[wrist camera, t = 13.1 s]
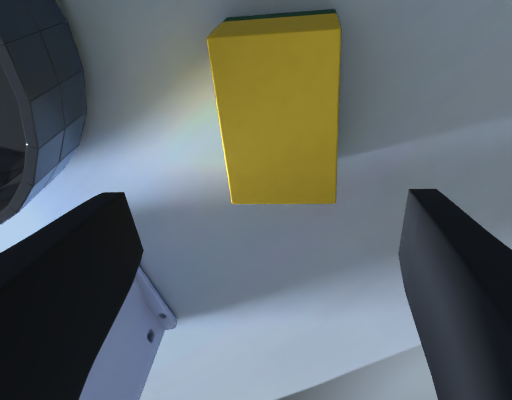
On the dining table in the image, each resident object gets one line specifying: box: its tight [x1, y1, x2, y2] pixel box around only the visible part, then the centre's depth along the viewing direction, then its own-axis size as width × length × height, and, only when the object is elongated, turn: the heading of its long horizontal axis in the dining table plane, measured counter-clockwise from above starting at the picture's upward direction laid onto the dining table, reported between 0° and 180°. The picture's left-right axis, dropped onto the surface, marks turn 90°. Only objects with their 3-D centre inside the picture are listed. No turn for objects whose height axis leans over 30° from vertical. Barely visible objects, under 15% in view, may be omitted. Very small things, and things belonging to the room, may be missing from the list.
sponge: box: [207, 9, 342, 204], centre depth 16 cm, size 7×4×4 cm, turn 5°
